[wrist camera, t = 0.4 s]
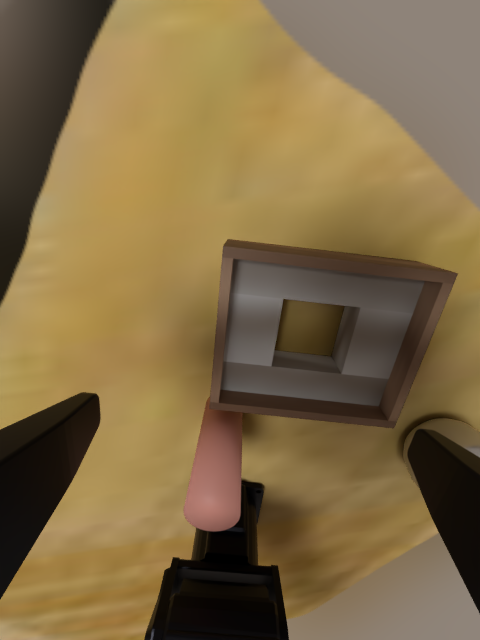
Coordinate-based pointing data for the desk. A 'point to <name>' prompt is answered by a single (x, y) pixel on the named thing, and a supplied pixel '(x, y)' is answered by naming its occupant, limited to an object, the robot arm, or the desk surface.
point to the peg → (216, 472)
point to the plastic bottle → (452, 430)
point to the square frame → (351, 342)
